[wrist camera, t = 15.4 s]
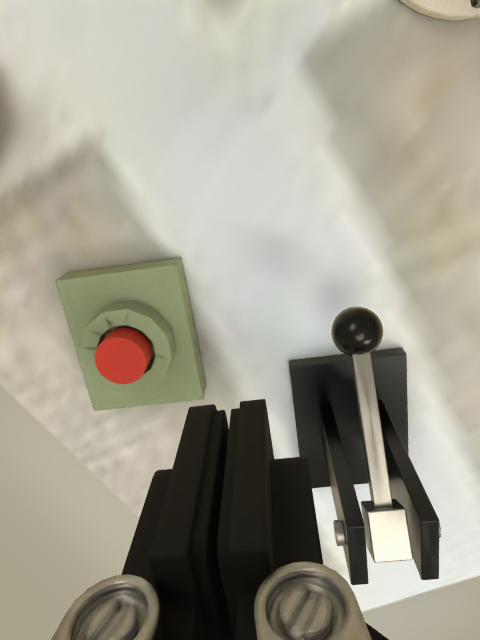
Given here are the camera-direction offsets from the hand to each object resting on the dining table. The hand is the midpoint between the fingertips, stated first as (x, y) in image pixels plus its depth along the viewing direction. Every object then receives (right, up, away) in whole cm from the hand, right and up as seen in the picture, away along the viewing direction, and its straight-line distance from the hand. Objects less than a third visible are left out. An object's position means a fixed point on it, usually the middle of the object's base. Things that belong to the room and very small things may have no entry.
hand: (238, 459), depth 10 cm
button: (-8, +1, +23) cm, 24 cm away
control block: (-8, +2, +26) cm, 28 cm away
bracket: (+9, -5, +28) cm, 30 cm away
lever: (+8, -4, +20) cm, 22 cm away
